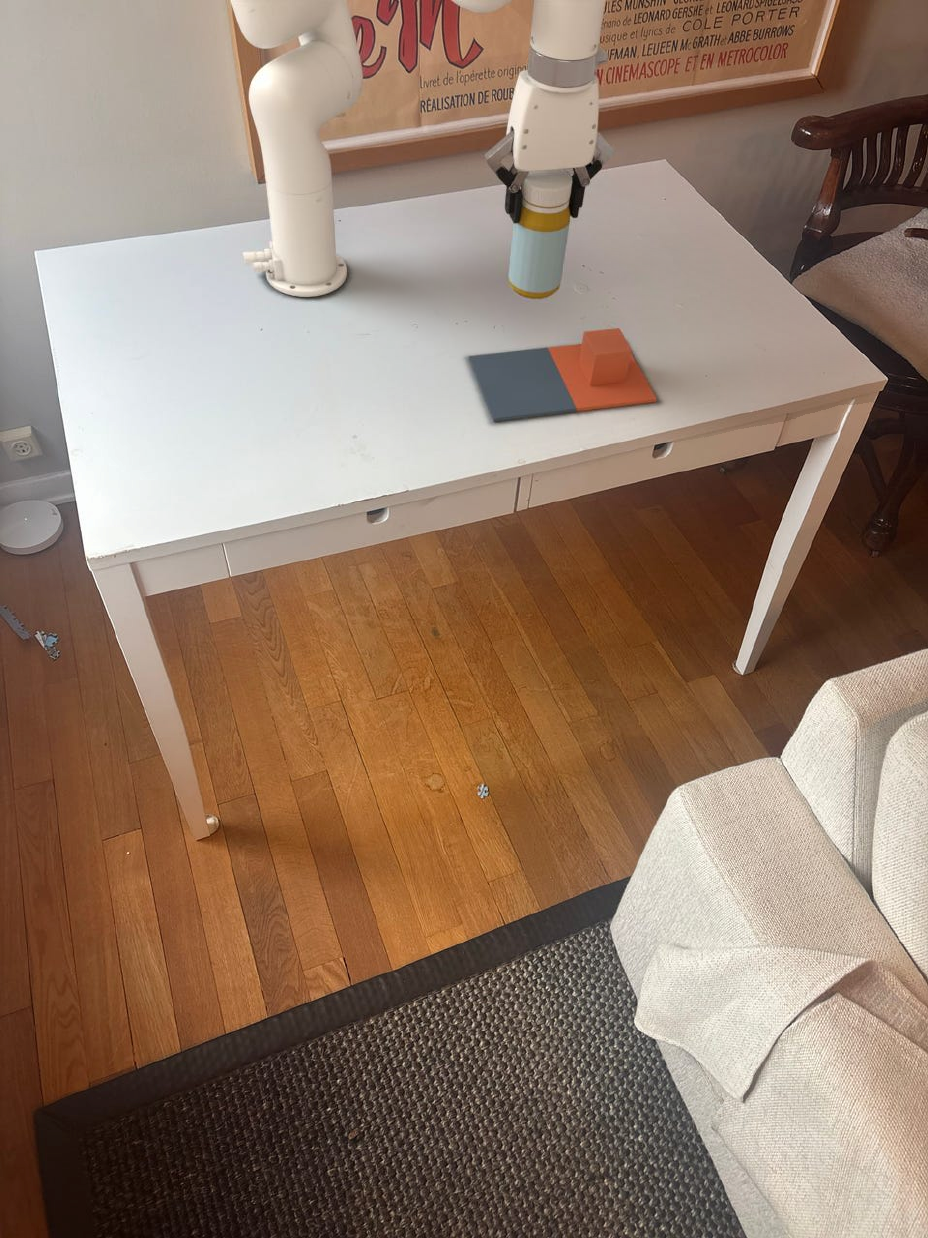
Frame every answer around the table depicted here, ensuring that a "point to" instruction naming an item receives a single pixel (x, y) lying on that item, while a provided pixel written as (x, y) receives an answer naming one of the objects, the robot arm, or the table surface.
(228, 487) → the table surface
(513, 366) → the sorting mat
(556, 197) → the bottle
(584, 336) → the block
